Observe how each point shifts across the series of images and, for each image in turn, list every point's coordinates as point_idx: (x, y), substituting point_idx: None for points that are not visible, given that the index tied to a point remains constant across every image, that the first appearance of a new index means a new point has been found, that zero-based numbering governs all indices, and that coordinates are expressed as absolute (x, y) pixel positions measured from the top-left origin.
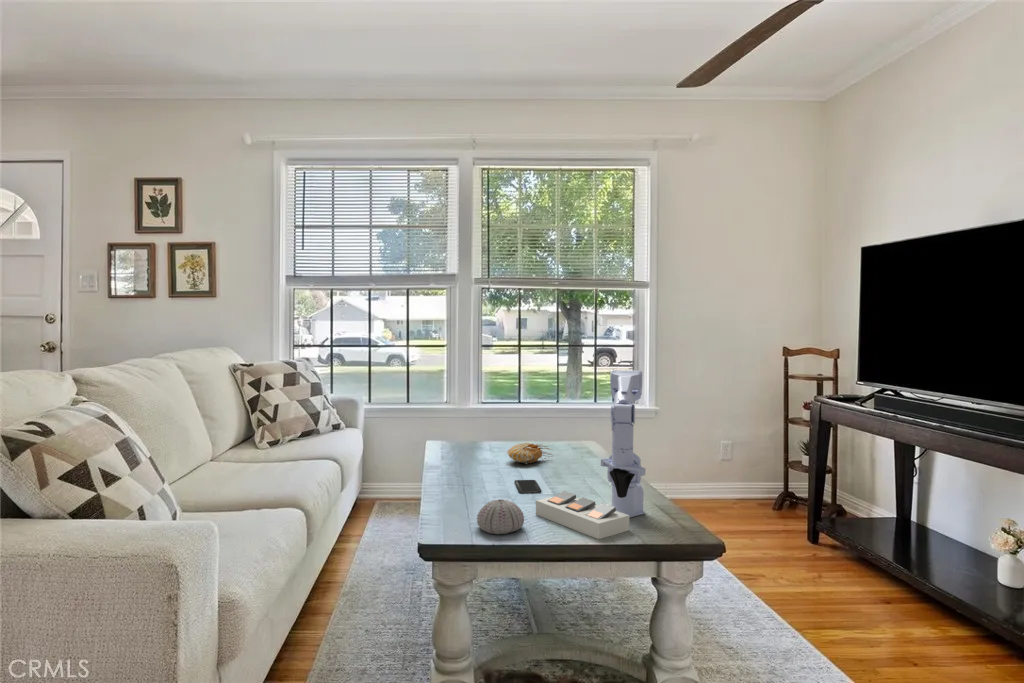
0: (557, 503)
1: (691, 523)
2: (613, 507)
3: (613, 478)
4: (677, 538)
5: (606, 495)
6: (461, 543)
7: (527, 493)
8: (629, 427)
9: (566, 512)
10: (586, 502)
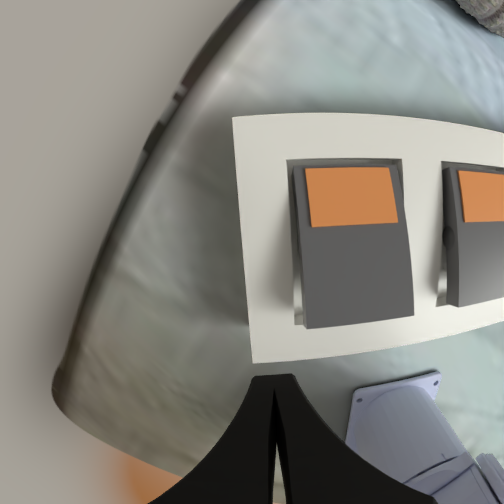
0: None
1: None
2: (313, 318)
3: (352, 478)
4: (115, 388)
5: (488, 433)
6: None
7: None
8: None
9: (466, 126)
10: (481, 267)
